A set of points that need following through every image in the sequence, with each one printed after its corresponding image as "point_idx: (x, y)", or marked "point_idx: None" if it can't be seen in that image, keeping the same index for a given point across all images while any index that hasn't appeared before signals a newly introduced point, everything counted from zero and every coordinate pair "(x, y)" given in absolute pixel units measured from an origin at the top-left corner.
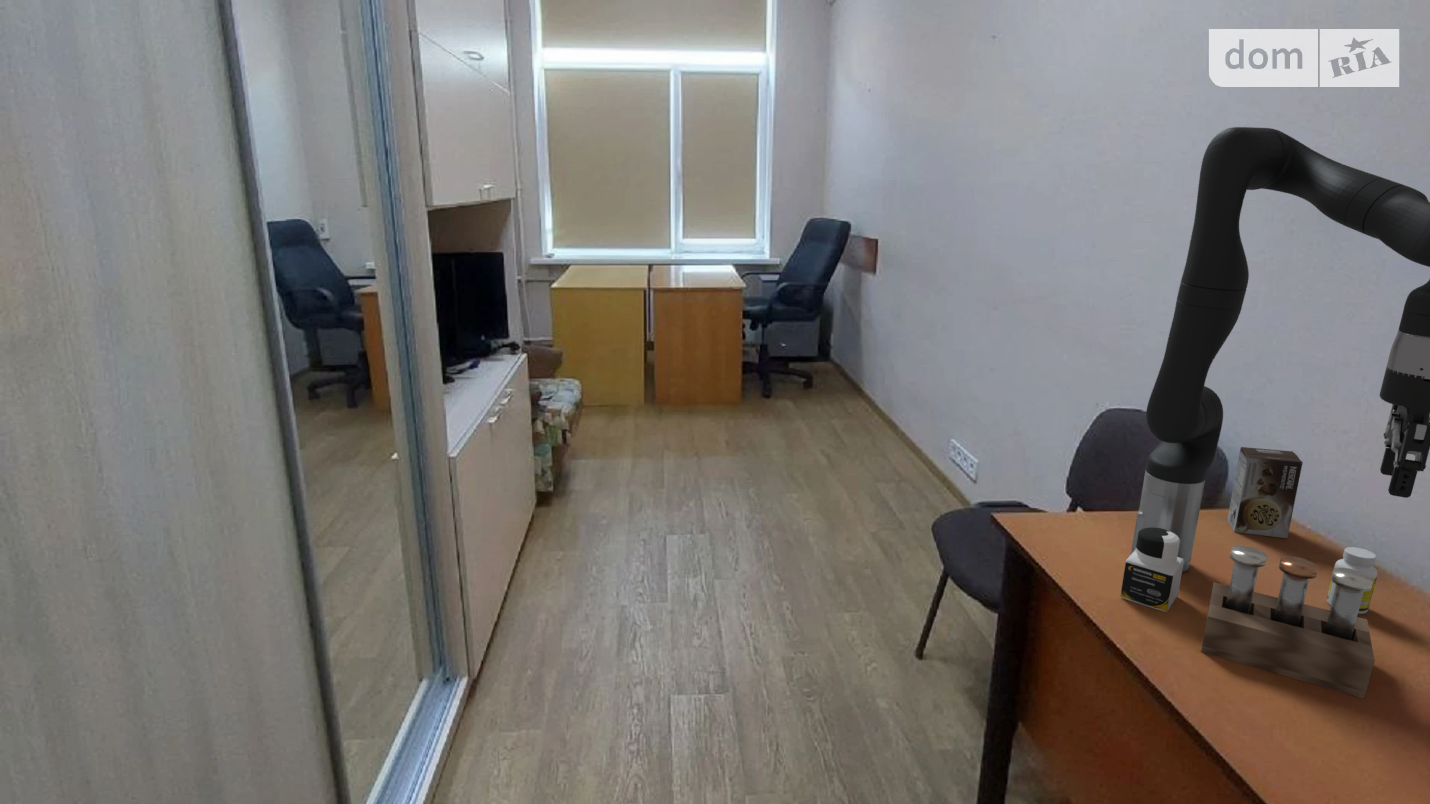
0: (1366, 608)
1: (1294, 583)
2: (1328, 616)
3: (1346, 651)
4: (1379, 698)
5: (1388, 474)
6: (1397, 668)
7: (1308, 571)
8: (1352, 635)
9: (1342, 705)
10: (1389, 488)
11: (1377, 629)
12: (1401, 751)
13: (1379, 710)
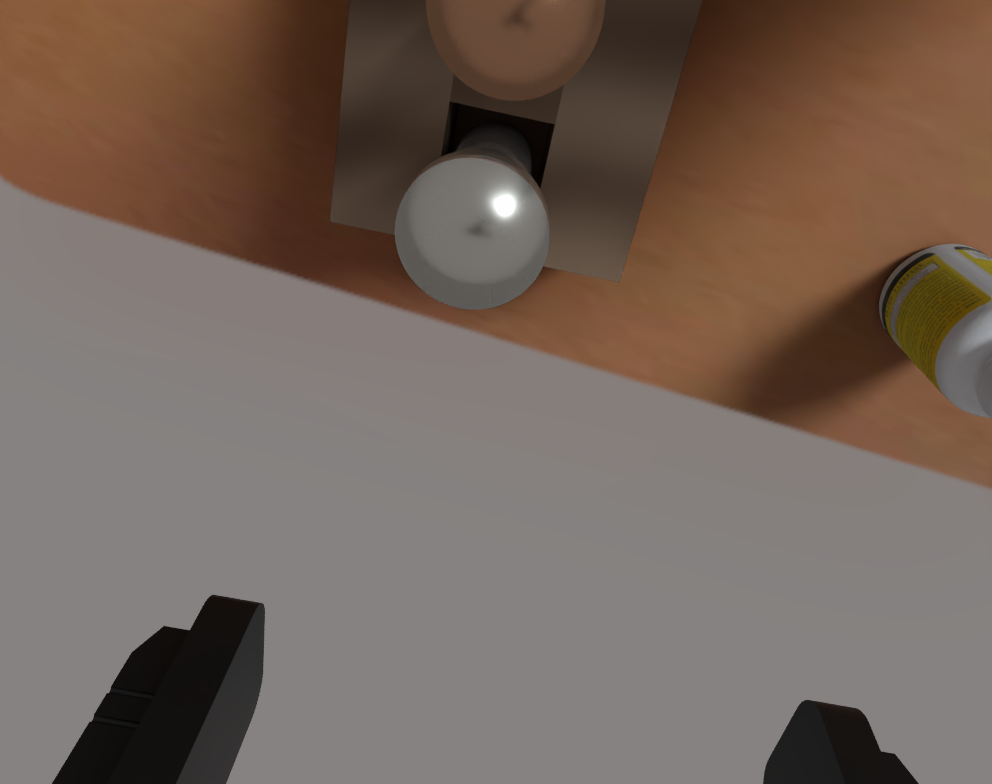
0: (892, 339)
1: None
2: (493, 135)
3: (346, 150)
4: None
5: (787, 731)
6: (571, 316)
7: (432, 34)
8: None
9: (294, 114)
10: (206, 626)
11: (792, 335)
12: (150, 200)
13: (320, 205)
